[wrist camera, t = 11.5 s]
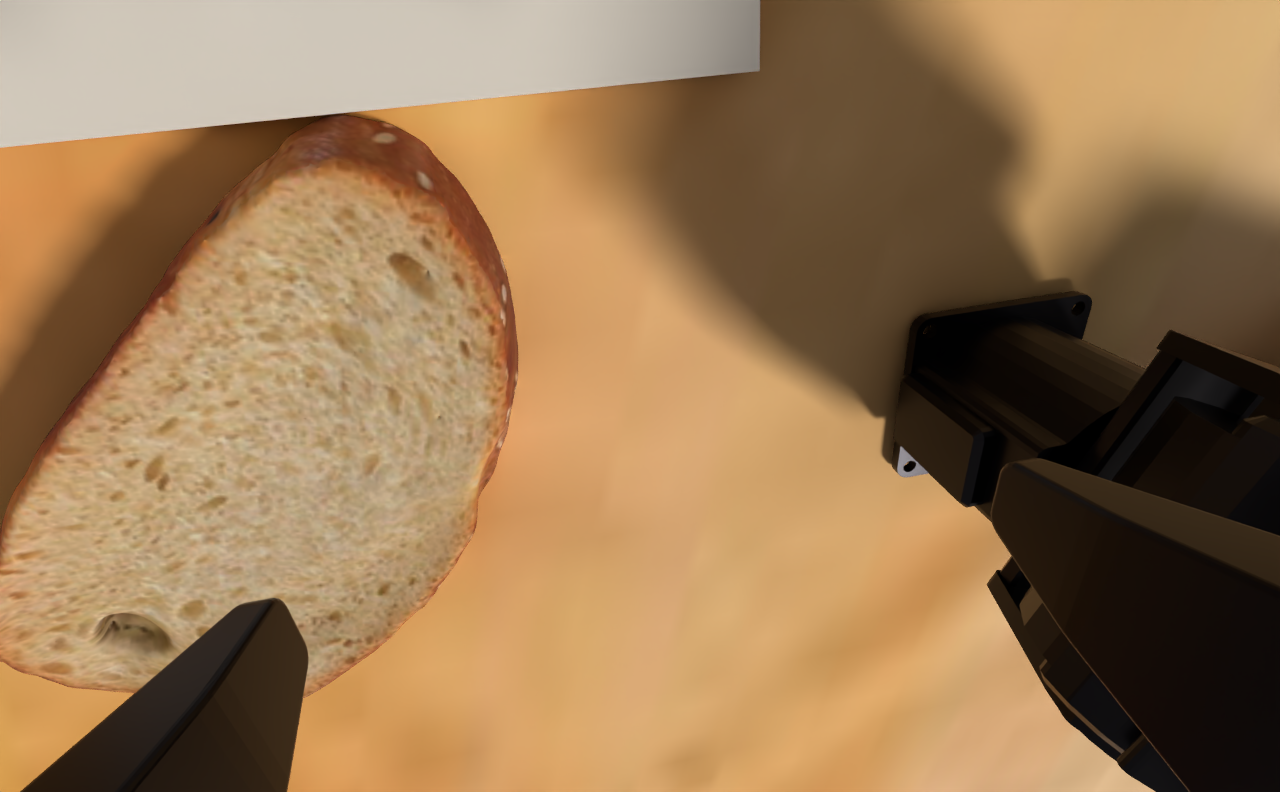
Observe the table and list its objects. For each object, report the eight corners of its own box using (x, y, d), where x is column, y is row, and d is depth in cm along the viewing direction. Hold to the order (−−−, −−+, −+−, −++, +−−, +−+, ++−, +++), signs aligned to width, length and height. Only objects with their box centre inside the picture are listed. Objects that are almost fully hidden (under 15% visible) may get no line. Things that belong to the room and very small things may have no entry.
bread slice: (457, 90, 16) (440, 93, 12) (594, 585, 24) (606, 665, 21) (-300, 232, 14) (-544, 277, 11) (132, 702, 23) (67, 806, 20)
